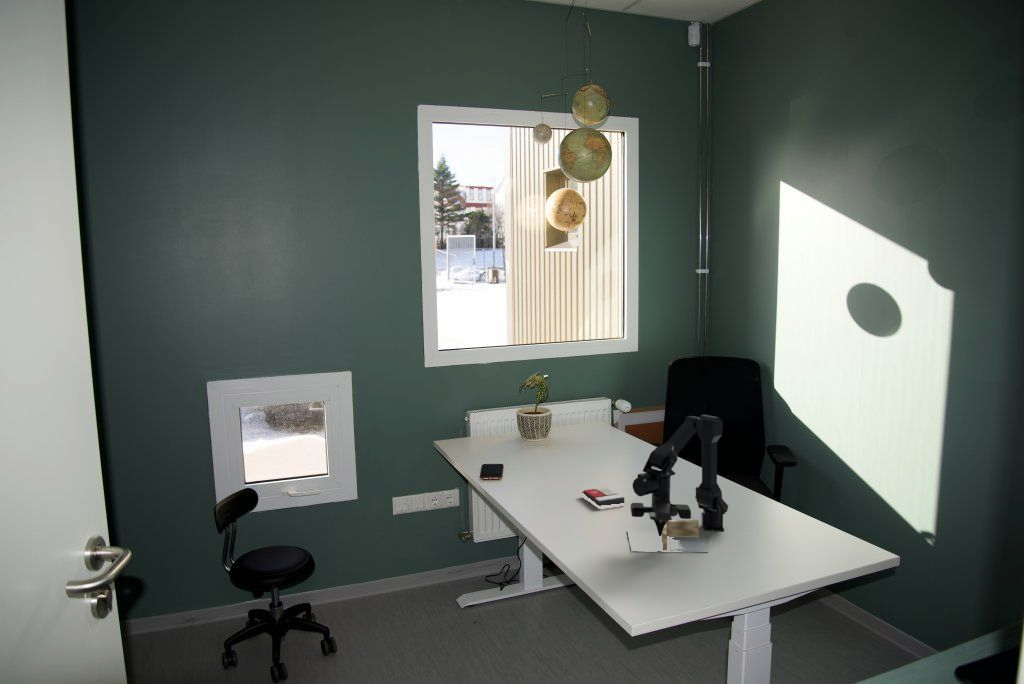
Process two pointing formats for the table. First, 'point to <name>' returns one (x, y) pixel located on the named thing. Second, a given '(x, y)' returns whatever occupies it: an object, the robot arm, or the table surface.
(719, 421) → the robot arm
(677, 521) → the fence base
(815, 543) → the table surface
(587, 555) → the table surface
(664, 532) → the fence panel
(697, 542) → the card
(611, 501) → the red and black book
